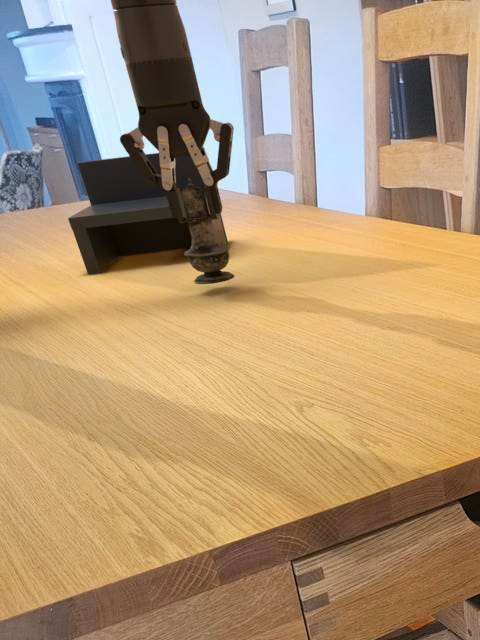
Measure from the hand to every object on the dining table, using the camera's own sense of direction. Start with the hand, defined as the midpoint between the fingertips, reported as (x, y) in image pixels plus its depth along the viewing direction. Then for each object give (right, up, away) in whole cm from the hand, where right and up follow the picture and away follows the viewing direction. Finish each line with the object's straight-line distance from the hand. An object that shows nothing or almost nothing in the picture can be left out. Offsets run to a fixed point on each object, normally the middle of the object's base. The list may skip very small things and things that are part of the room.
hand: (199, 219), depth 106 cm
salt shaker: (+1, -6, +4) cm, 7 cm away
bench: (-16, +9, +29) cm, 34 cm away
